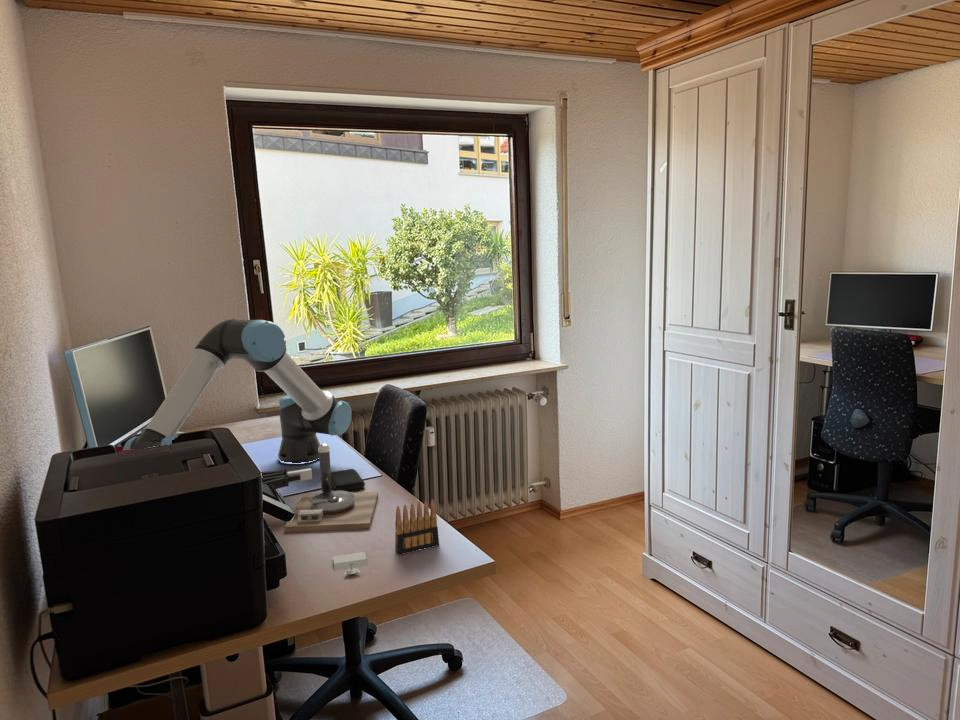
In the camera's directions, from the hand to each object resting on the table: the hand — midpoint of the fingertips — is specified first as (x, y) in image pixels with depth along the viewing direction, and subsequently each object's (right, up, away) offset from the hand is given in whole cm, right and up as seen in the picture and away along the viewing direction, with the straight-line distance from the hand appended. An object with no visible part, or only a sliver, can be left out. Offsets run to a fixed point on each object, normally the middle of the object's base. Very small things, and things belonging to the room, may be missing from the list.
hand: (311, 473), depth 184 cm
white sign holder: (+18, -16, -35) cm, 43 cm away
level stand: (+7, -10, -3) cm, 13 cm away
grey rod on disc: (+6, -8, -1) cm, 10 cm away
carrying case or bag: (+6, -7, +19) cm, 21 cm away
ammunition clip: (+33, -14, -26) cm, 44 cm away
